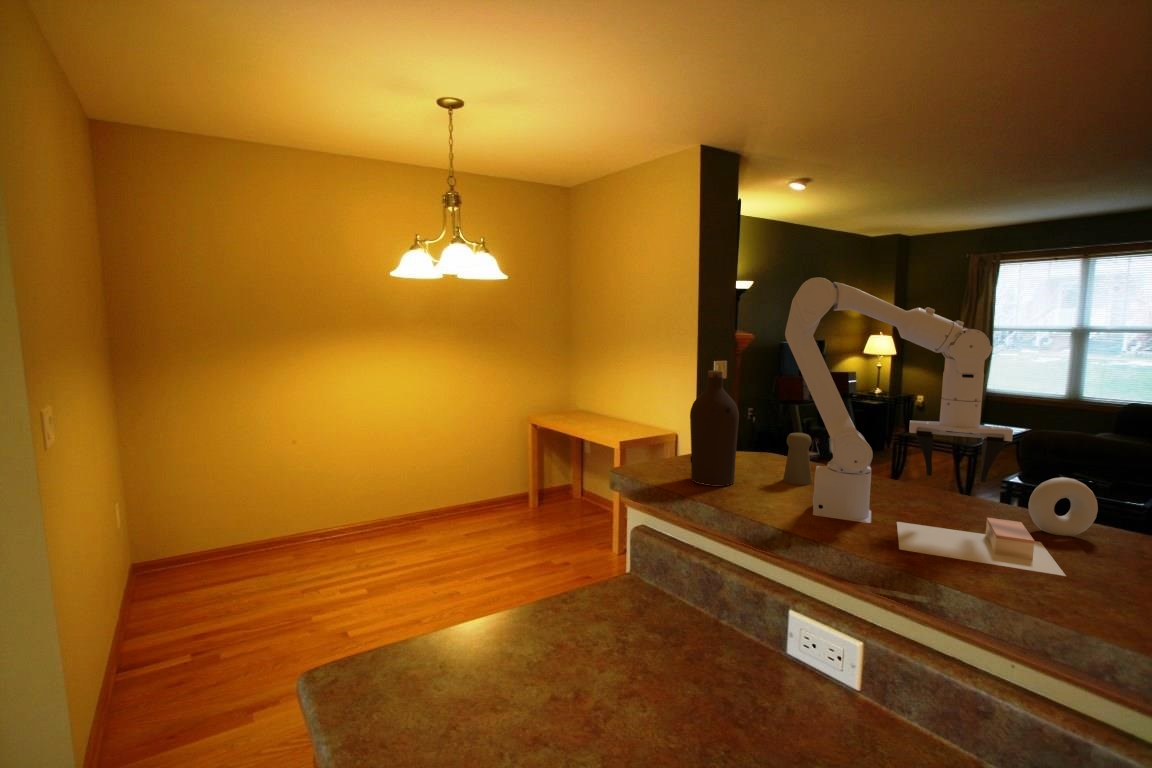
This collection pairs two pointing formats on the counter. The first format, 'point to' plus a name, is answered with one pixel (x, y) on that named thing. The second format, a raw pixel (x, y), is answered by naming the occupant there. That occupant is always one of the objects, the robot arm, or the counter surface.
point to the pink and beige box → (1009, 538)
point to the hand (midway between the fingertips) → (955, 477)
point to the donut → (1078, 514)
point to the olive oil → (714, 434)
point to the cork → (798, 459)
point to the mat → (969, 548)
